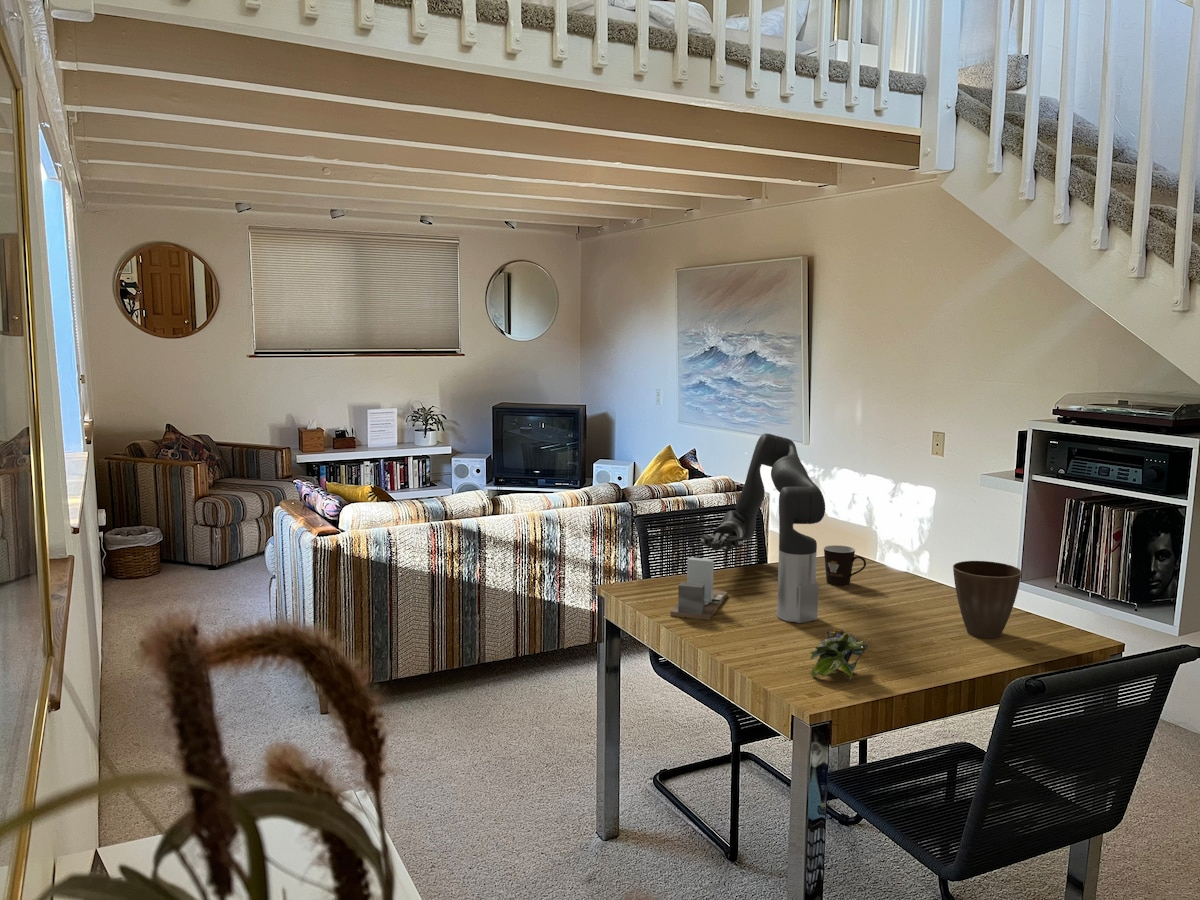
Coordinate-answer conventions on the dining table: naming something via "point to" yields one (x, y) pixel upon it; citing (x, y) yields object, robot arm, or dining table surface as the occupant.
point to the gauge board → (706, 608)
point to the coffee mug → (840, 564)
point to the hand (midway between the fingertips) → (715, 546)
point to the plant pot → (986, 595)
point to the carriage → (702, 575)
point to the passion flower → (837, 653)
